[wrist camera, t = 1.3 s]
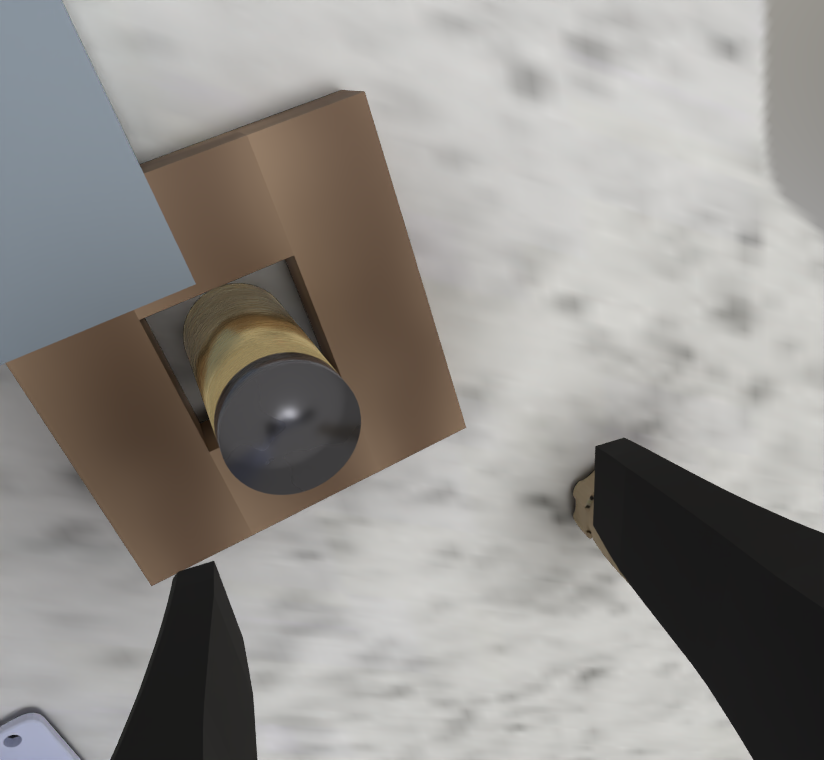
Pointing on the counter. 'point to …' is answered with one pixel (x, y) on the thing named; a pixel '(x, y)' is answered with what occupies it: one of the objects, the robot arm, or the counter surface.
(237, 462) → the pin
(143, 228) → the socket block
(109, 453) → the mount block
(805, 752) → the robot arm
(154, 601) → the counter surface
